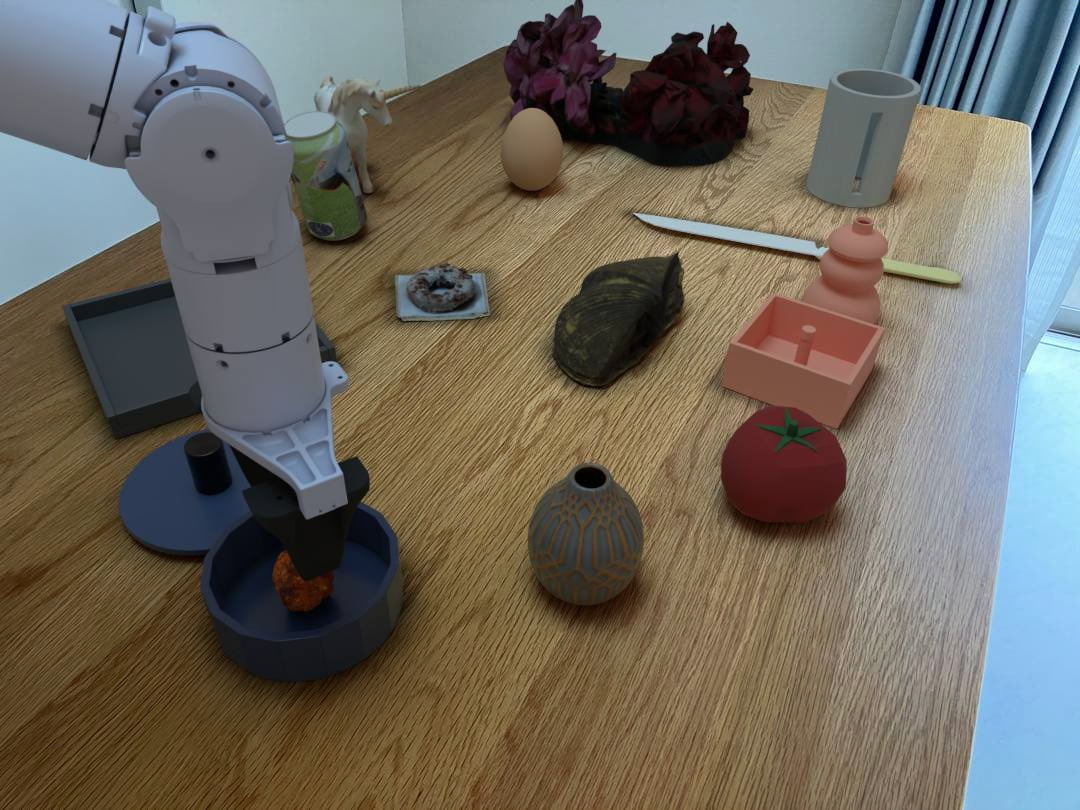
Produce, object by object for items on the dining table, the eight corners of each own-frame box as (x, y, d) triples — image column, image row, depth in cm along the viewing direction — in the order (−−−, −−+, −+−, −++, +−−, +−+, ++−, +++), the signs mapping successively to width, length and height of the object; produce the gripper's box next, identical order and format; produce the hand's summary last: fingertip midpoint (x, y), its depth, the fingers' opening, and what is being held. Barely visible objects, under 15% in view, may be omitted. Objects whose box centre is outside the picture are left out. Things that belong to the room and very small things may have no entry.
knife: (635, 204, 95) (624, 215, 91) (961, 262, 87) (965, 276, 83) (634, 216, 96) (623, 227, 92) (957, 274, 87) (961, 289, 83)
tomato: (852, 530, 59) (880, 448, 55) (743, 554, 57) (763, 472, 53) (792, 452, 65) (813, 373, 60) (692, 472, 63) (706, 392, 59)
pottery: (837, 429, 67) (870, 319, 61) (721, 386, 71) (741, 279, 65) (900, 321, 79) (934, 221, 73) (799, 289, 83) (822, 192, 77)
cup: (858, 168, 105) (885, 65, 98) (906, 201, 98) (939, 93, 91) (791, 177, 103) (813, 72, 95) (835, 212, 96) (863, 101, 88)
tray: (114, 439, 64) (106, 417, 63) (69, 326, 76) (61, 305, 74) (338, 368, 72) (334, 346, 70) (266, 274, 83) (262, 254, 82)
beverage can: (380, 228, 91) (369, 112, 83) (330, 257, 86) (313, 137, 78) (334, 212, 93) (319, 98, 86) (283, 239, 88) (262, 121, 81)
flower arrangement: (749, 120, 116) (770, -2, 107) (736, 181, 101) (760, 46, 92) (520, 93, 122) (521, -25, 113) (476, 148, 107) (473, 17, 98)
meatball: (292, 633, 51) (280, 588, 49) (270, 591, 54) (259, 546, 51) (350, 607, 53) (342, 562, 50) (327, 567, 55) (318, 522, 53)
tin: (250, 716, 47) (237, 674, 45) (192, 579, 55) (178, 536, 52) (434, 627, 52) (431, 585, 50) (359, 512, 59) (352, 470, 57)
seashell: (629, 399, 69) (616, 319, 65) (532, 383, 74) (515, 308, 70) (710, 301, 80) (703, 228, 76) (621, 293, 84) (611, 224, 81)
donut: (394, 322, 77) (393, 302, 76) (396, 276, 83) (394, 257, 82) (490, 318, 78) (490, 298, 77) (484, 273, 84) (484, 254, 83)
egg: (550, 206, 95) (553, 124, 90) (491, 196, 97) (491, 115, 92) (569, 181, 101) (572, 102, 95) (513, 171, 102) (513, 94, 97)
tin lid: (148, 590, 54) (127, 538, 51) (104, 474, 62) (85, 423, 59) (334, 516, 59) (326, 465, 56) (273, 417, 67) (262, 368, 64)
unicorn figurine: (369, 228, 90) (355, 98, 82) (288, 163, 102) (269, 43, 94) (430, 211, 94) (422, 83, 86) (345, 149, 106) (331, 33, 98)
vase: (580, 521, 59) (587, 420, 54) (660, 580, 55) (677, 477, 50) (503, 577, 55) (503, 474, 50) (584, 644, 51) (593, 540, 46)
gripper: (398, 372, 38) (418, 582, 46) (279, 232, 47) (314, 428, 56) (233, 427, 35) (287, 641, 43) (141, 266, 44) (201, 467, 53)
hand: (294, 524), depth 49 cm, fingers open, 7 cm apart
